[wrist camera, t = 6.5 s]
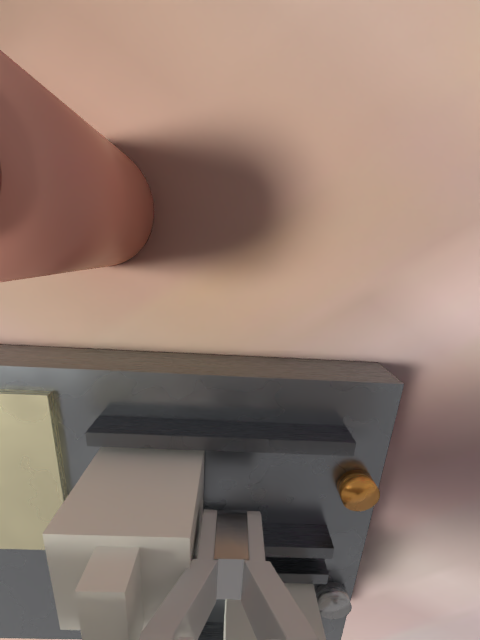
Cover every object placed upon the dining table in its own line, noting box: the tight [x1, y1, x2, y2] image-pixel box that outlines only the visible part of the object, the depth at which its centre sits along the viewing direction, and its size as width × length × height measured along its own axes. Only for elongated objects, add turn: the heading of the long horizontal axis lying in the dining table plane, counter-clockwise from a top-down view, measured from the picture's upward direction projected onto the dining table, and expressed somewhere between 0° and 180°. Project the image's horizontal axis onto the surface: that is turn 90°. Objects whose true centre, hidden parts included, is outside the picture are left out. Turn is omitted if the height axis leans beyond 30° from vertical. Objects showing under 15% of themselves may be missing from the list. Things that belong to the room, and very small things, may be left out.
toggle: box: [42, 447, 205, 640], centre depth 9 cm, size 4×4×5 cm
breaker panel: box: [0, 345, 404, 640], centre depth 13 cm, size 20×16×3 cm
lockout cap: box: [0, 50, 154, 282], centre depth 7 cm, size 5×5×7 cm
